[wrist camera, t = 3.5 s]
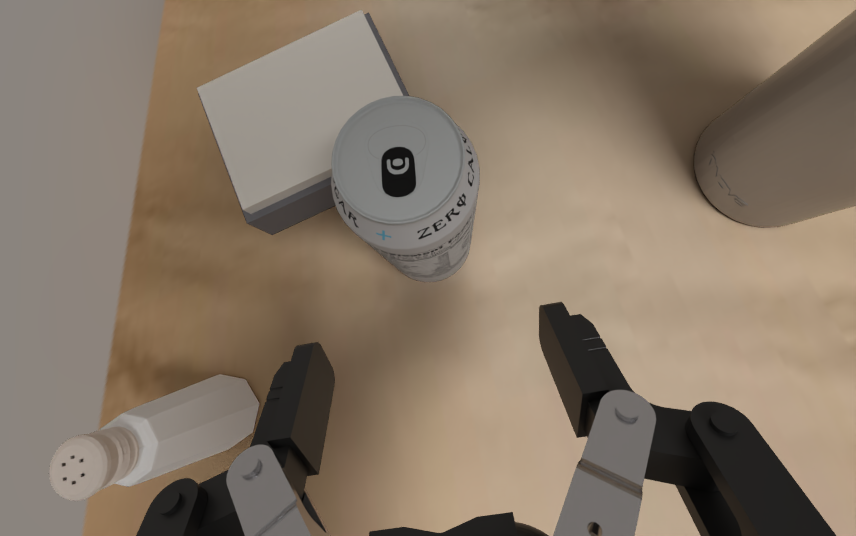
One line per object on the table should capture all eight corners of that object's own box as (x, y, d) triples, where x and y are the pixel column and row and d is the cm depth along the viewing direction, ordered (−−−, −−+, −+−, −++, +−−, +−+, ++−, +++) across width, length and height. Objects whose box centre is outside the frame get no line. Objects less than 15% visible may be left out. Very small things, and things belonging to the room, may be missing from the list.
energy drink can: (466, 202, 28) (474, 70, 13) (473, 280, 27) (490, 233, 12) (388, 209, 29) (312, 89, 14) (393, 286, 28) (316, 247, 13)
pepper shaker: (187, 381, 28) (15, 420, 17) (255, 365, 28) (124, 395, 17) (196, 455, 27) (20, 546, 16) (266, 440, 27) (134, 523, 16)
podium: (378, 47, 31) (365, 1, 26) (433, 159, 29) (428, 130, 24) (227, 119, 31) (188, 85, 26) (272, 234, 29) (238, 219, 25)
